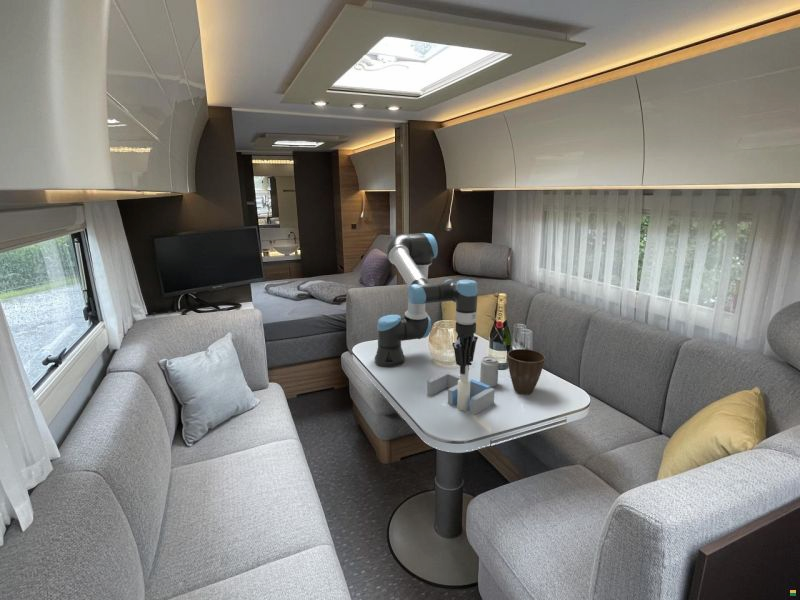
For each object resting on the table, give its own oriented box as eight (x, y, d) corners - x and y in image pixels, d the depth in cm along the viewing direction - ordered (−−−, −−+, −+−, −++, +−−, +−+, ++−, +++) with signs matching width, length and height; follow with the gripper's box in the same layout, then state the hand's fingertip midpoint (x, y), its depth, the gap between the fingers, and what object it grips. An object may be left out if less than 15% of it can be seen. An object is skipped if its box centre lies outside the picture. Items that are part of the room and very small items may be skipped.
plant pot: (514, 379, 178) (516, 346, 175) (547, 389, 169) (550, 353, 165) (499, 391, 167) (501, 356, 164) (534, 402, 158) (536, 365, 154)
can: (477, 385, 173) (478, 360, 170) (482, 379, 180) (483, 354, 177) (494, 389, 170) (496, 363, 167) (499, 382, 176) (500, 357, 173)
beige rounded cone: (454, 407, 155) (455, 381, 152) (462, 403, 158) (462, 377, 156) (464, 411, 152) (465, 385, 149) (472, 407, 155) (473, 381, 152)
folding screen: (427, 394, 166) (427, 379, 164) (447, 384, 175) (447, 370, 173) (474, 414, 149) (475, 398, 148) (494, 402, 158) (494, 387, 157)
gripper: (463, 327, 140) (461, 389, 145) (484, 320, 148) (482, 378, 154) (446, 323, 145) (445, 383, 150) (468, 316, 154) (466, 372, 159)
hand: (464, 380), depth 152 cm, fingers closed
